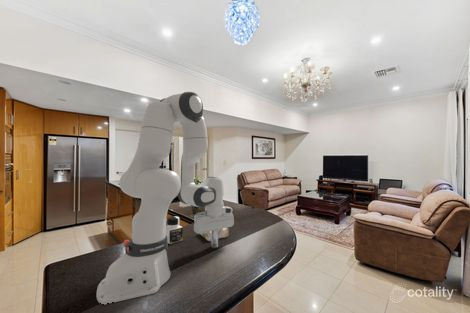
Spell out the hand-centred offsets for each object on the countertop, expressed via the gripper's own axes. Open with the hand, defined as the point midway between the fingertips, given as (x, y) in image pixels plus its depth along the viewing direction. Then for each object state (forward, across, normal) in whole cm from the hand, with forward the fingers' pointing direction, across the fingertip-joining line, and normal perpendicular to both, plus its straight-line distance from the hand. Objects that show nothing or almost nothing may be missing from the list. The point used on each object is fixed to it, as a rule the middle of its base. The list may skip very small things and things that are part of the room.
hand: (214, 238), depth 96 cm
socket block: (+4, +6, +13) cm, 15 cm away
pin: (+4, 0, 0) cm, 4 cm away
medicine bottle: (+4, -15, +18) cm, 24 cm away
